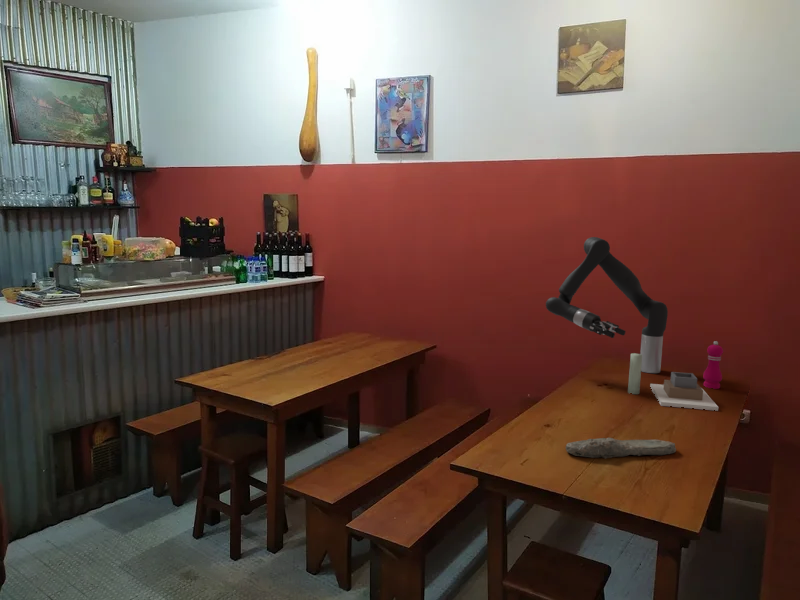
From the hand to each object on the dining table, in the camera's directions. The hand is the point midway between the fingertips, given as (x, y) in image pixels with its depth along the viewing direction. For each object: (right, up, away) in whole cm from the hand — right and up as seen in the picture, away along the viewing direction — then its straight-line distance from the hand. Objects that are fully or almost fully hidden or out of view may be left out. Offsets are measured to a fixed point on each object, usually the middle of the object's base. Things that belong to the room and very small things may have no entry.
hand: (619, 334), depth 250 cm
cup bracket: (+21, -25, -11) cm, 34 cm away
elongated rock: (-24, -33, -67) cm, 78 cm away
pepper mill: (+42, -23, +7) cm, 48 cm away
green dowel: (+4, -24, -4) cm, 24 cm away
